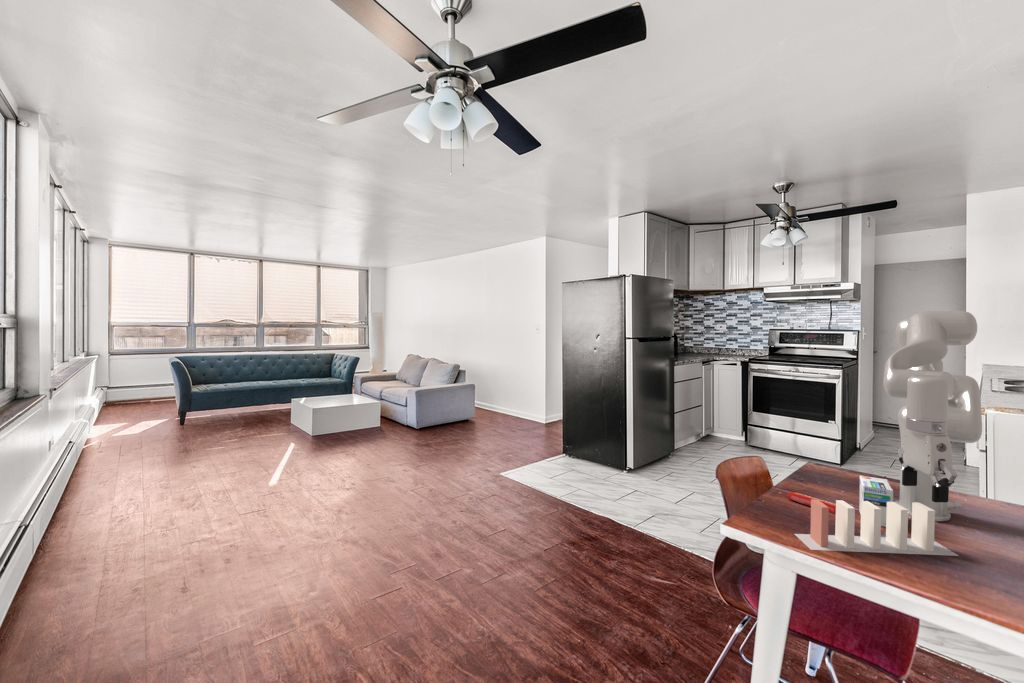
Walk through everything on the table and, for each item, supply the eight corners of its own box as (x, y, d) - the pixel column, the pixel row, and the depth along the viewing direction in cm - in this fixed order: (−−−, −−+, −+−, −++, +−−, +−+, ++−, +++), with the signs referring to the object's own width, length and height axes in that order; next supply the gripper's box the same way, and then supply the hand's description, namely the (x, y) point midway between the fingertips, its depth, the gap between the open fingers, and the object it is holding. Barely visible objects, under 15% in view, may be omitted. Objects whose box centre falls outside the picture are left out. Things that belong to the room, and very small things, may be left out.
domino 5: (918, 541, 117) (919, 502, 116) (933, 551, 112) (935, 510, 111) (911, 541, 117) (912, 502, 116) (926, 550, 112) (927, 510, 111)
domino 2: (841, 538, 119) (842, 500, 118) (853, 548, 114) (854, 508, 113) (835, 538, 119) (835, 500, 118) (846, 547, 114) (847, 508, 113)
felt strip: (931, 540, 118) (931, 538, 118) (959, 557, 109) (959, 555, 109) (793, 535, 122) (793, 533, 122) (810, 551, 113) (810, 549, 113)
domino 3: (867, 539, 118) (868, 501, 117) (880, 549, 113) (881, 509, 112) (860, 539, 118) (861, 500, 118) (873, 548, 113) (874, 508, 113)
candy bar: (848, 515, 134) (848, 505, 133) (842, 518, 132) (842, 508, 132) (790, 497, 147) (790, 488, 147) (784, 500, 145) (784, 491, 145)
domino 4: (892, 540, 117) (893, 501, 117) (907, 550, 112) (908, 509, 112) (885, 540, 117) (886, 501, 117) (899, 549, 112) (901, 509, 112)
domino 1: (816, 537, 119) (817, 499, 119) (827, 547, 114) (828, 507, 114) (810, 537, 119) (811, 499, 119) (821, 546, 115) (821, 507, 114)
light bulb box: (893, 530, 124) (894, 490, 123) (862, 524, 127) (863, 486, 127) (887, 515, 133) (888, 478, 132) (858, 510, 137) (858, 474, 136)
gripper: (974, 435, 104) (971, 509, 105) (916, 416, 121) (914, 479, 122) (937, 436, 105) (935, 508, 106) (885, 417, 122) (883, 479, 123)
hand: (924, 493), depth 114 cm, fingers open, 9 cm apart
